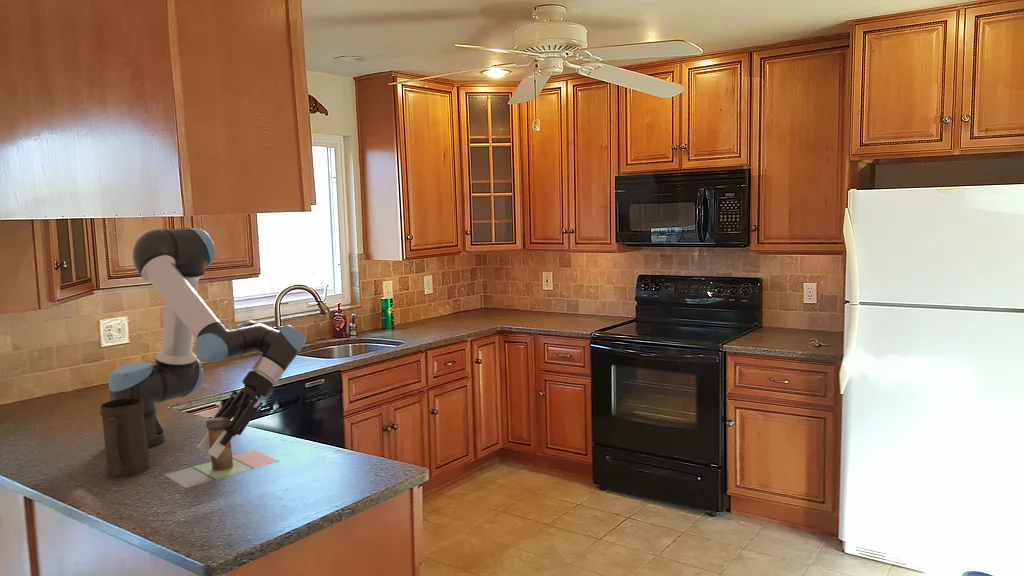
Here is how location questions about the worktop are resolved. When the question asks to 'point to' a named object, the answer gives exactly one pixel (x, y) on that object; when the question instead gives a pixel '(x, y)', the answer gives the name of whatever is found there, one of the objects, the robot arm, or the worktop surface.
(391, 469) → the worktop surface
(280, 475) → the worktop surface
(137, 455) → the beer stein
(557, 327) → the worktop surface
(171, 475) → the gauge board
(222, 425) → the wooden dark-capped post
